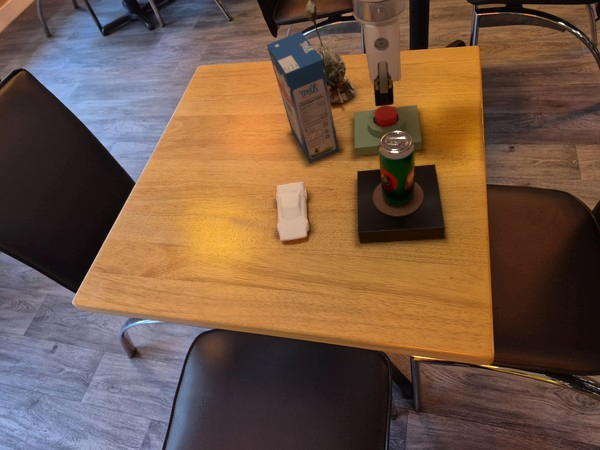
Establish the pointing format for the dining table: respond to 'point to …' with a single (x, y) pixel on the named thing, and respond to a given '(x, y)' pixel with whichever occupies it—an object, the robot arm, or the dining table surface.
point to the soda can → (397, 167)
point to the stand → (399, 209)
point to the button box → (384, 129)
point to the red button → (385, 116)
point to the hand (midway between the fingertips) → (384, 102)
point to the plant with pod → (332, 66)
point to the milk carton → (304, 95)
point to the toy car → (292, 211)
